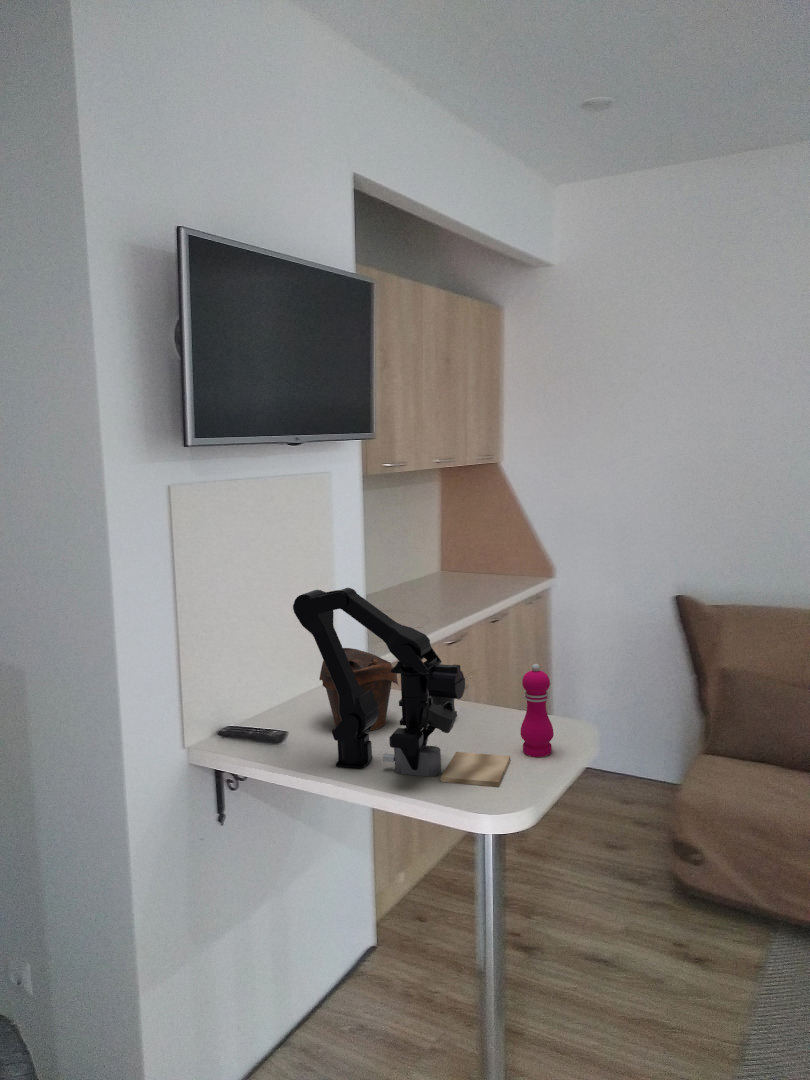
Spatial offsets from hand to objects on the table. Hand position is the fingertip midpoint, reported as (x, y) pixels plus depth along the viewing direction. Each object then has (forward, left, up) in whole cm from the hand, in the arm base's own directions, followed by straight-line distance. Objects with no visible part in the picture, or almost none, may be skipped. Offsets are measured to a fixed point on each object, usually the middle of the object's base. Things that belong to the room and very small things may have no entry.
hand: (417, 765), depth 172 cm
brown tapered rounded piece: (-22, +26, -2) cm, 34 cm away
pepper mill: (+23, +16, -2) cm, 28 cm away
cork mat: (+12, +3, -1) cm, 12 cm away
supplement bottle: (-3, +32, -2) cm, 32 cm away
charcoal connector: (-1, 0, -1) cm, 2 cm away
